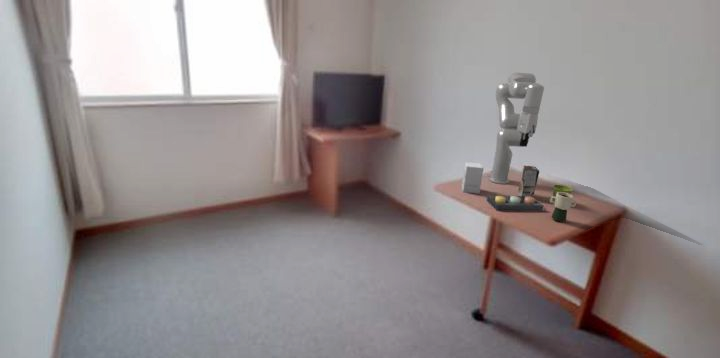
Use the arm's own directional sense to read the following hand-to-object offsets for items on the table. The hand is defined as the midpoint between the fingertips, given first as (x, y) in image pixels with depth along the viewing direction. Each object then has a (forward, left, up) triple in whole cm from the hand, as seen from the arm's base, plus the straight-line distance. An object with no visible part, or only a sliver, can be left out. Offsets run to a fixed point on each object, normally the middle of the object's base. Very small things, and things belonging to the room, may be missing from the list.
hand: (523, 145), depth 191 cm
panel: (+10, -4, -29) cm, 31 cm away
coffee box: (-4, +10, -29) cm, 31 cm away
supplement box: (-11, -19, -29) cm, 37 cm away
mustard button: (+10, -12, -29) cm, 33 cm away
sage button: (+10, -4, -29) cm, 31 cm away
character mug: (+26, +10, -29) cm, 40 cm away
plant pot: (+5, +24, -29) cm, 38 cm away
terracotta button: (+10, +4, -29) cm, 31 cm away
